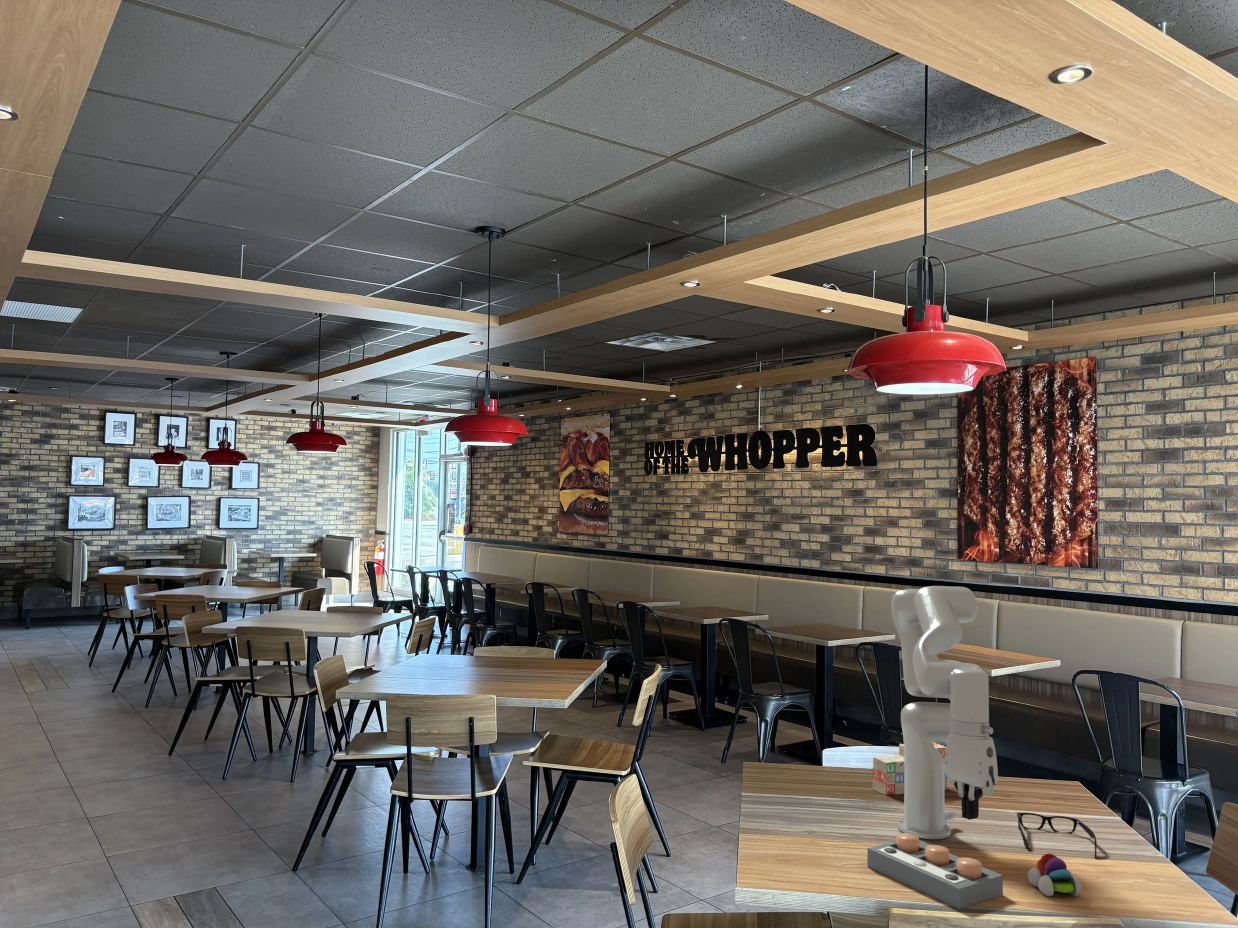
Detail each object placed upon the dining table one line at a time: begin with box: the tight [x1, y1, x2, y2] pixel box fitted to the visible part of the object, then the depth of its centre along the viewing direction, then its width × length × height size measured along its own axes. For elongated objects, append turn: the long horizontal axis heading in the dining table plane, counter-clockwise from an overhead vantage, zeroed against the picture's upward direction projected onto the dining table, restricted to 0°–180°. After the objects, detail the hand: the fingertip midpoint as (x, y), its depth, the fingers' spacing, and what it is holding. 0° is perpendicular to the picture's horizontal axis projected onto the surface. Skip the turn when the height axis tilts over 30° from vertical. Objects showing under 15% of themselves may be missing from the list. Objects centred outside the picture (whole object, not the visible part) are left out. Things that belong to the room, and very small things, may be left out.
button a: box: [896, 832, 920, 854], centre depth 196 cm, size 5×5×3 cm
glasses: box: [1016, 812, 1098, 860], centre depth 213 cm, size 17×18×5 cm
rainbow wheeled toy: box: [1027, 853, 1083, 897], centre depth 184 cm, size 8×10×7 cm
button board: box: [866, 840, 1004, 910], centre depth 188 cm, size 14×24×4 cm, turn 32°
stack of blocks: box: [872, 742, 948, 796], centre depth 252 cm, size 21×6×12 cm, turn 110°
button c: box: [957, 857, 983, 881], centre depth 182 cm, size 5×5×3 cm
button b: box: [926, 844, 950, 867], centre depth 189 cm, size 5×5×3 cm
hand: (970, 817), depth 182 cm, fingers closed
